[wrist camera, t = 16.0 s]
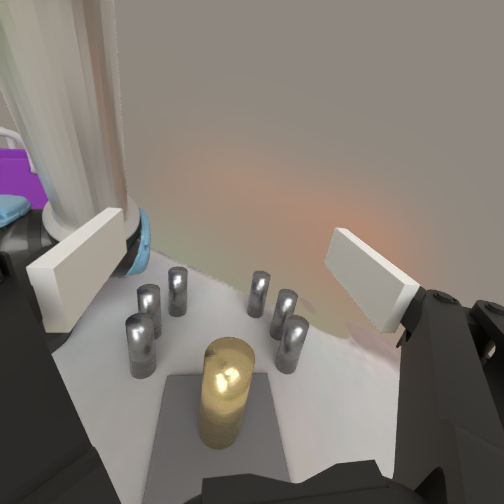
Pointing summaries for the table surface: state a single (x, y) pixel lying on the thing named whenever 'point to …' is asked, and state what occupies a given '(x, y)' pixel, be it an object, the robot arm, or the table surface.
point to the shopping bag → (19, 172)
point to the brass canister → (224, 391)
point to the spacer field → (149, 317)
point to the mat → (201, 456)
